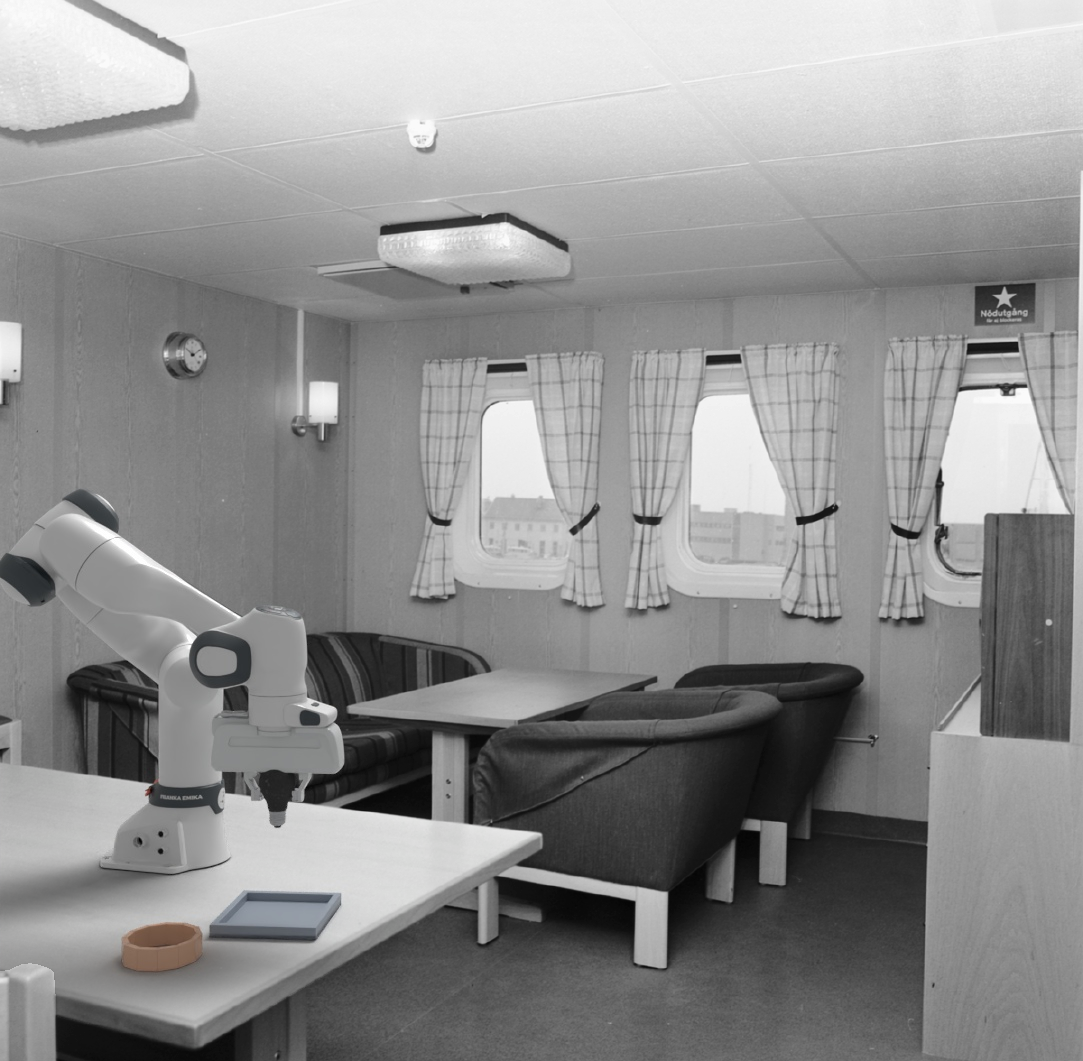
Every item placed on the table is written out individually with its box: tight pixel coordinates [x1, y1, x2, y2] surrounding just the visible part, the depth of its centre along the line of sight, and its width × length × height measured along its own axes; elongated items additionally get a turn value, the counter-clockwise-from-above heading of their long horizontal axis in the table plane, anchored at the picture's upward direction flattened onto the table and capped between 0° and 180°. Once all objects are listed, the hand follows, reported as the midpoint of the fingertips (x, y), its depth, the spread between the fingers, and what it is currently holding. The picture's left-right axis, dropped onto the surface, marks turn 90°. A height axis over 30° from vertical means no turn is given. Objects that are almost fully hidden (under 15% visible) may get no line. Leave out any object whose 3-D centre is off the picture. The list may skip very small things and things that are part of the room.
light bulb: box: [258, 769, 297, 829], centre depth 180 cm, size 6×6×10 cm
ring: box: [120, 921, 203, 972], centre depth 166 cm, size 11×11×3 cm
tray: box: [208, 889, 342, 941], centre depth 181 cm, size 16×16×2 cm
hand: (277, 800), depth 180 cm, fingers closed on light bulb, 5 cm apart
